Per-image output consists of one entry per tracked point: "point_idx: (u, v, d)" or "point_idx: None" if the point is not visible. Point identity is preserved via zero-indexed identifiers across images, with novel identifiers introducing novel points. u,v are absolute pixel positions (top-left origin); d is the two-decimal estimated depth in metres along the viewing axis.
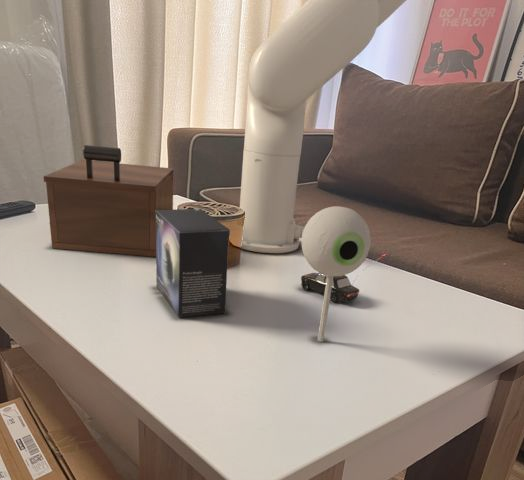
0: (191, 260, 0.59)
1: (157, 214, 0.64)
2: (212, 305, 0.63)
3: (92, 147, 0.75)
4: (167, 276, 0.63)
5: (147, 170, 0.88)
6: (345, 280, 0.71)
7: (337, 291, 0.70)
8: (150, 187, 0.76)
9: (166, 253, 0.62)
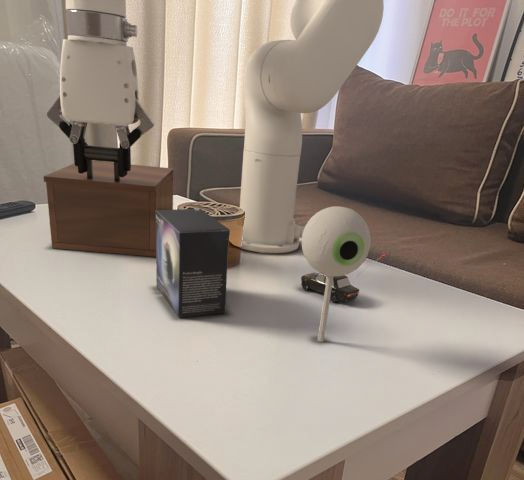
0: (191, 260, 0.59)
1: (157, 214, 0.64)
2: (212, 305, 0.63)
3: (92, 147, 0.75)
4: (167, 276, 0.63)
5: (147, 170, 0.88)
6: (345, 280, 0.71)
7: (337, 291, 0.70)
8: (150, 187, 0.76)
9: (166, 253, 0.62)
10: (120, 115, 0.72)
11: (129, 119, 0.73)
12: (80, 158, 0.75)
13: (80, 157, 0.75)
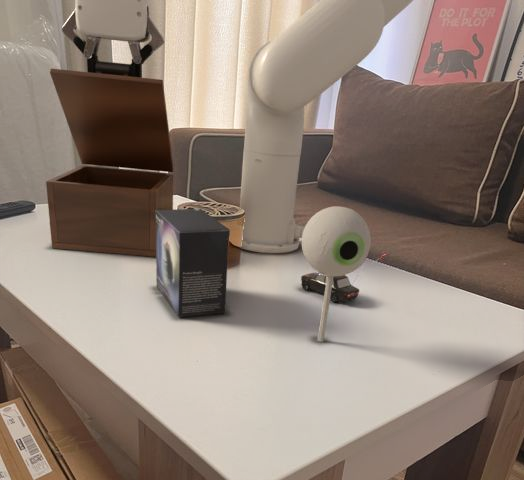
0: (191, 260, 0.59)
1: (157, 214, 0.64)
2: (212, 305, 0.63)
3: (105, 62, 0.79)
4: (167, 276, 0.63)
5: None
6: (345, 280, 0.71)
7: (337, 291, 0.70)
8: (158, 80, 0.76)
9: (166, 253, 0.62)
10: (133, 29, 0.75)
11: (141, 33, 0.76)
12: None
13: (93, 72, 0.78)
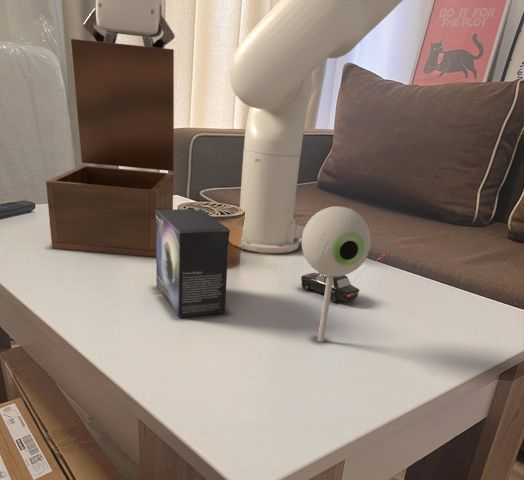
0: (191, 260, 0.59)
1: (157, 214, 0.64)
2: (212, 305, 0.63)
3: None
4: (167, 276, 0.63)
5: None
6: (345, 280, 0.71)
7: (337, 291, 0.70)
8: None
9: (166, 253, 0.62)
10: (146, 25, 0.84)
11: (154, 28, 0.85)
12: None
13: None
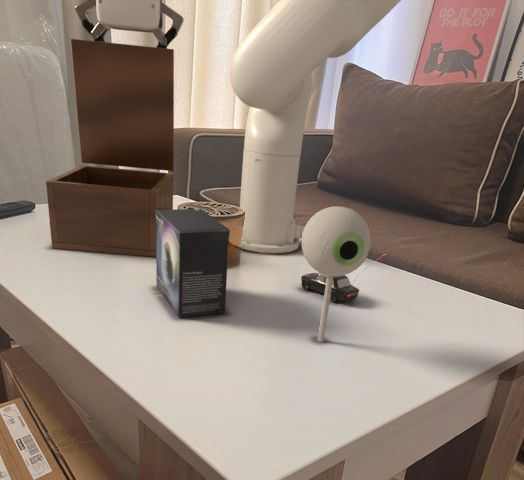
0: (191, 260, 0.59)
1: (157, 214, 0.64)
2: (212, 305, 0.63)
3: None
4: (167, 276, 0.63)
5: None
6: (345, 280, 0.71)
7: (337, 291, 0.70)
8: None
9: (166, 253, 0.62)
10: (147, 20, 0.84)
11: (155, 23, 0.84)
12: None
13: None
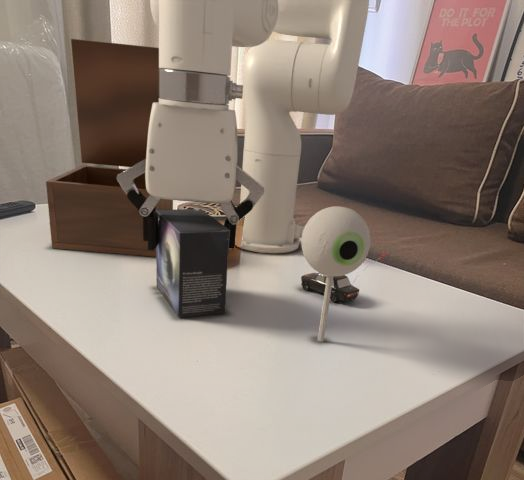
0: (191, 260, 0.59)
1: None
2: (212, 305, 0.63)
3: None
4: (167, 276, 0.63)
5: None
6: (345, 280, 0.71)
7: (337, 291, 0.70)
8: None
9: (166, 253, 0.62)
10: (218, 192, 0.59)
11: (228, 196, 0.59)
12: (151, 233, 0.61)
13: (151, 232, 0.61)
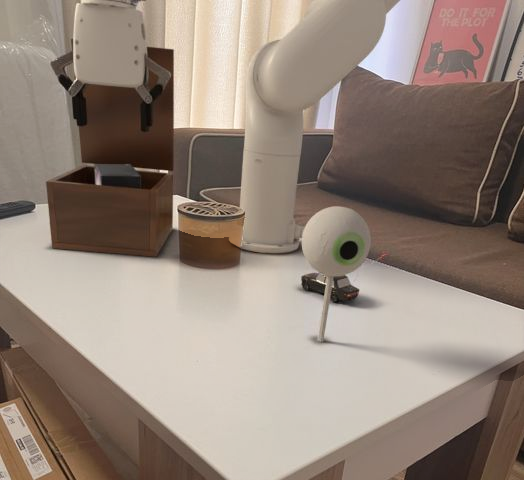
0: None
1: None
2: None
3: None
4: None
5: None
6: (345, 280, 0.71)
7: (337, 291, 0.70)
8: None
9: None
10: (130, 77, 0.76)
11: (138, 80, 0.76)
12: (78, 111, 0.78)
13: (78, 110, 0.78)
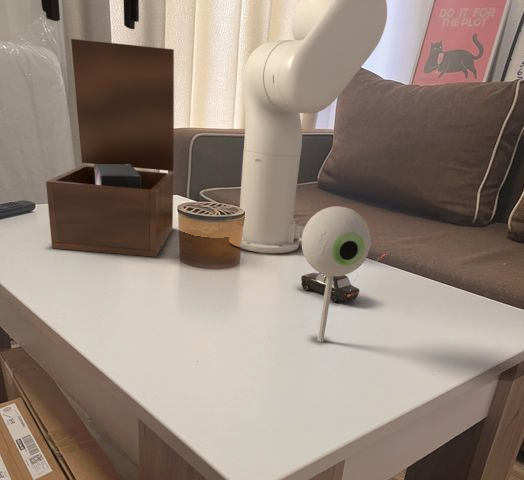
0: None
1: None
2: None
3: None
4: None
5: None
6: (345, 280, 0.71)
7: (337, 291, 0.70)
8: None
9: None
10: None
11: None
12: None
13: None
